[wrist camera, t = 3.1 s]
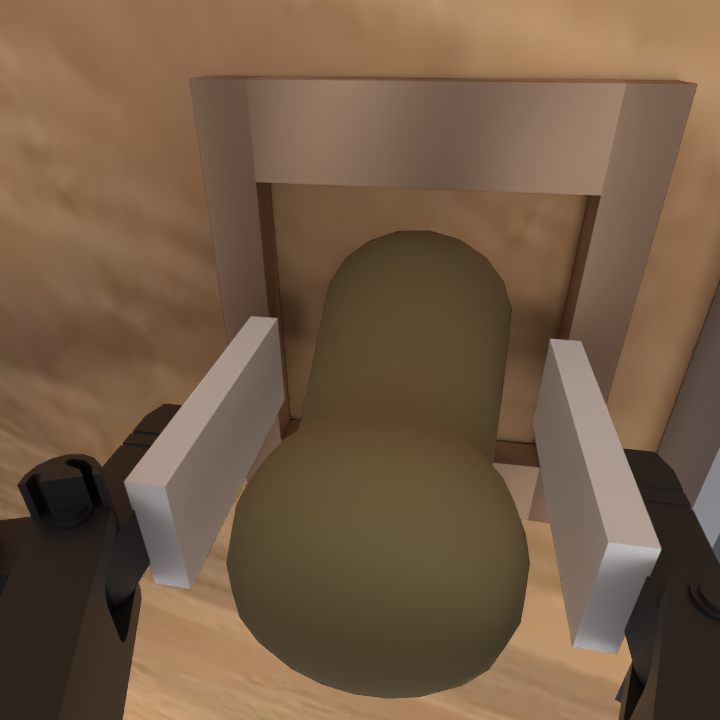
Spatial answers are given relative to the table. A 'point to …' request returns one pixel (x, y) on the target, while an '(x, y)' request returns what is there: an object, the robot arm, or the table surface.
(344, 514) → the olive bulb peg
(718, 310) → the tray
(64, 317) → the table surface
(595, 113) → the socket block
